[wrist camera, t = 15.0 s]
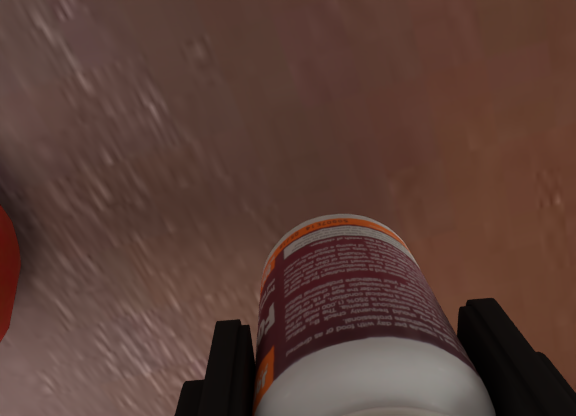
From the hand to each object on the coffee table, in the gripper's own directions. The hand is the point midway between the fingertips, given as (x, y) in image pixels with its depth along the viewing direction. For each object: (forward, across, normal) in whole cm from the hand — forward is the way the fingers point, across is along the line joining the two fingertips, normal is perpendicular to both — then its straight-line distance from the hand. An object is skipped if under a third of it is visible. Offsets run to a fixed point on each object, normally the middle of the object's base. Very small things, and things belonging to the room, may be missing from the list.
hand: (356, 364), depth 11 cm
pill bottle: (+4, 0, 0) cm, 4 cm away
